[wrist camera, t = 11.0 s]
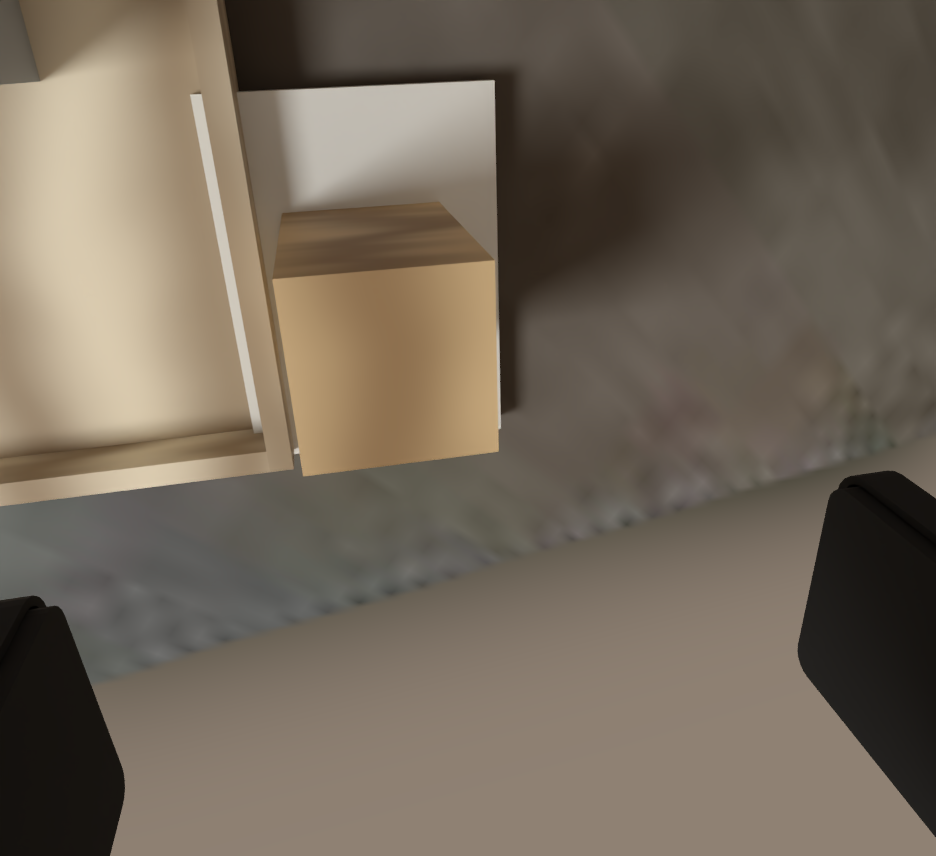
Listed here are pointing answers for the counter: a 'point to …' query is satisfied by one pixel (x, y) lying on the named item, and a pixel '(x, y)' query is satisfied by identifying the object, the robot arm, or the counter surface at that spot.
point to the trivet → (358, 169)
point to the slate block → (15, 46)
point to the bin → (128, 259)
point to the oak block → (386, 336)
